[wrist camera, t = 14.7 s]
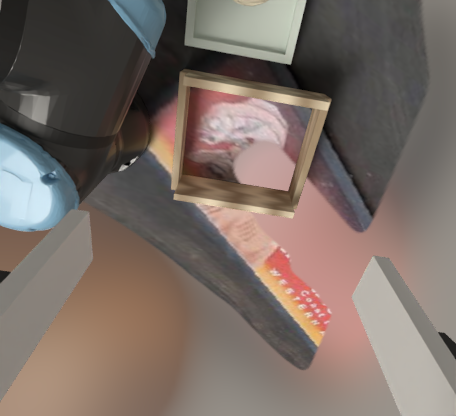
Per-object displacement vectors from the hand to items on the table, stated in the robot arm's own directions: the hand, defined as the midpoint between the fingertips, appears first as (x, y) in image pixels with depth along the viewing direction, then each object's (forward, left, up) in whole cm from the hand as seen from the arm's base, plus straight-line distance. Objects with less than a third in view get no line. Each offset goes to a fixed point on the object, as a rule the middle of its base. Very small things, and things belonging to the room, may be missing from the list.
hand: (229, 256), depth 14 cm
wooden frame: (+2, -5, -35) cm, 35 cm away
